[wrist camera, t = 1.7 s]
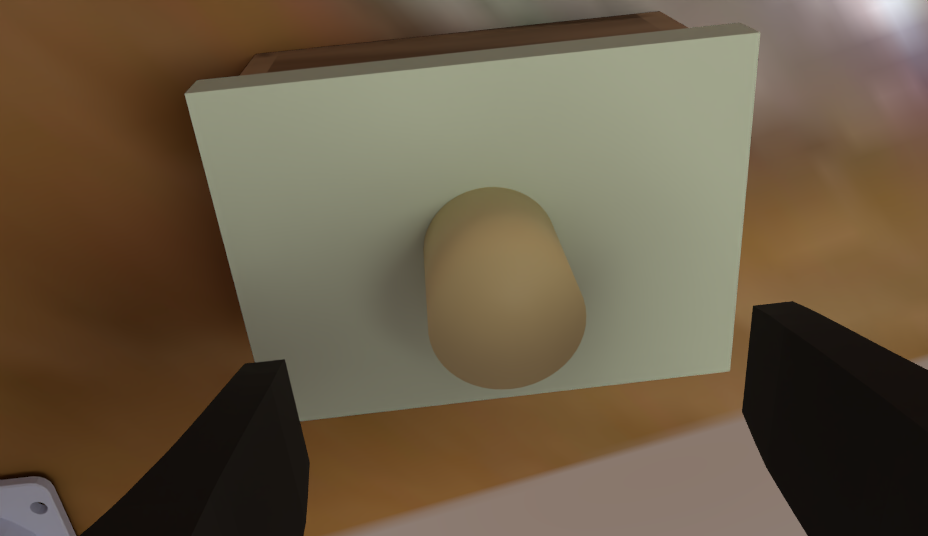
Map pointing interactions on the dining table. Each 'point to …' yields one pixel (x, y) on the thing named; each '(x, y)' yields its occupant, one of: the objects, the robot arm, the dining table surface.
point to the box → (460, 42)
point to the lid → (486, 216)
